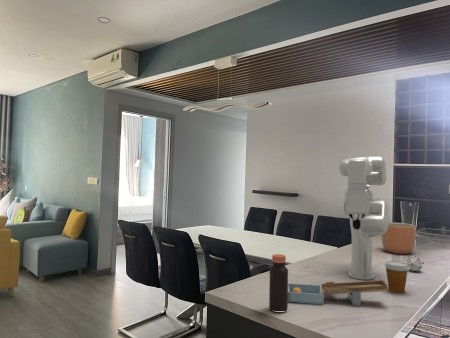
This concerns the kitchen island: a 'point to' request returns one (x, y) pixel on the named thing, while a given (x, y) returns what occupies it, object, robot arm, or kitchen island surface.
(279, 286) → the bottle
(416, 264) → the spiky grey ball
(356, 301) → the grey arch block
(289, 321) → the kitchen island surface
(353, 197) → the robot arm
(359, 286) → the lever
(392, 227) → the planter
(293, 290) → the ball
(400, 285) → the disposable coffee cup
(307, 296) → the dish
